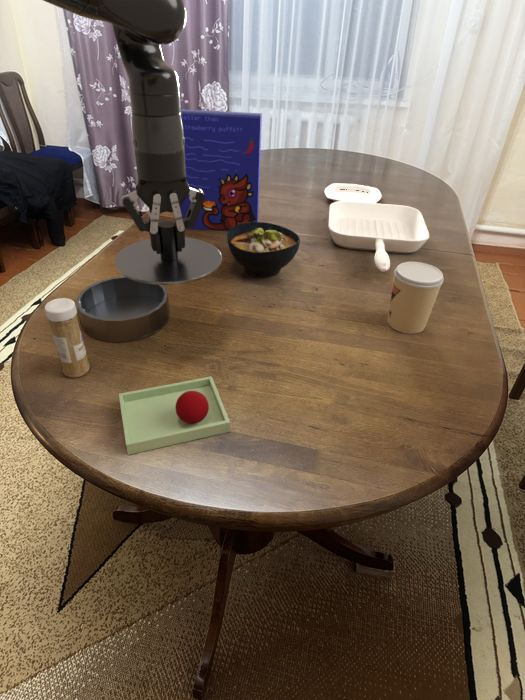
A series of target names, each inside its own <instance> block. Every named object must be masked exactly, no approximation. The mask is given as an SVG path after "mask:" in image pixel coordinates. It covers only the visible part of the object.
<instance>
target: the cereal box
mask: <svg viewBox="0 0 525 700" xmlns="http://www.w3.org/2000/svg"><path fill="white" fill-rule="evenodd" d="M180 110H181V112H180V113H181V119H182V125H183V132H184V139H185V145H184V149H185V167H186V180H187V183H188V184H189V186H190V187H191V188H193V189H196V190H197V189H201V190H202V192H203V193H204V195H205V200H204V202H203V205H202V207H201V210H200V213H199V215H198V218H197V220H196V223H195V225H194V226H193V227H188V228H186V229H185V230H187V229H189V230H203V231H204V230H207V231H222V232H223V231H225V232H228V231H229V230H230V229H231V228H232V227H234V226H236V225H239V224H242V223H248V222H259V217H260V216H259V214H260V212H259V211H260V182H261V181H260V180H261V154H262V153H261V151H262V148H261V147H262V121H263V120H262V118H263V117H262V116H263V113H261V112H260V113H259V112H242V111H223V110H222V111H220V110H201V109H183V108H182V109H181V108H180ZM189 197H190V195H189V194H188V195H187V197H186V199H185V200H184V202H183V203H182V205H181V207H180V210H181V214H182V219H183V218H185V217H186V215H187V212H188V209H189V207H190V204H191V201H190V199H189Z"/></svg>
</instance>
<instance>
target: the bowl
mask: <svg viewBox="0 0 525 700" xmlns="http://www.w3.org/2000/svg"><path fill="white" fill-rule="evenodd" d="M226 235H227V237H226V239H227V245H228V248H229V251H230V253H231V255H232V257H233V258H234V259H235V260H236V262H237V263H239V264H240V265H241V266H242V267H243V268H244V270H245V272H246V273H247V274H249V275H251V276H252V277H257V278H271V277H274V276H276V275H277V274H279V273H280V271H281V269H283V268H284V267H286V266H287V265H288V264H289V263H290V262H292V260H294V258H295V256H296V255H297V252H298V250H299V248H300V244H301V237H300V236H299V234H297V233H296V232H294V231H293V230H291V229H289V228H288V227H284V226H281V225H279V224H275V223H271V222H270V223H269V222H264V221H263V222H262V221H258V222H248V223H242V224H239V225H236V226H234V227H232V228H231V229H230V230H229V231H227V234H226Z"/></svg>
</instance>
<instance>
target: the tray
mask: <svg viewBox="0 0 525 700" xmlns="http://www.w3.org/2000/svg"><path fill="white" fill-rule="evenodd" d="M187 391H198V392H200V393H202V394H203V395H204V396H205V397H206V399H207V400H208V404H209V410H208V413H207V415H206V417H205V418H204V419H203V420H202V421H200V422H198V423H195V424H189V423H185V422H183V421H182V420H181V419H180V418H179V417H178V415H177V413H176V408H175V407H176V402H177V400H178V398H179V397H180V396H181V395H182V394H183V393H185V392H187ZM118 400H119V407H120V413H121V421H122V427H123V432H124V433H123V434H124V442H125V447H126V452H127V455H128V456H129V455H134V454H137V453H143V452H147V451H151V450H156V449H160V448H164V447H169V446H173V445H176V444H177V445H178V444H182V443H186V442H191V441H195V440H199V439H204V438H208V437H213V436H218V435H222V434H227V433H231V421H230V418H229V416H228V414H227V411H226V408H225V406H224V403H223V401H222V398H221V396H220V393H219V391H218V388H217V386H216V382H215V381H214V378H213V376H211V375H210V376H206V377H201V378H195V379H190V380H185V381H178V382H173V383H168V384H164V385H158V386H153V387H147V388H143V389H137V390H132V391H126V392H121V393H118Z"/></svg>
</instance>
